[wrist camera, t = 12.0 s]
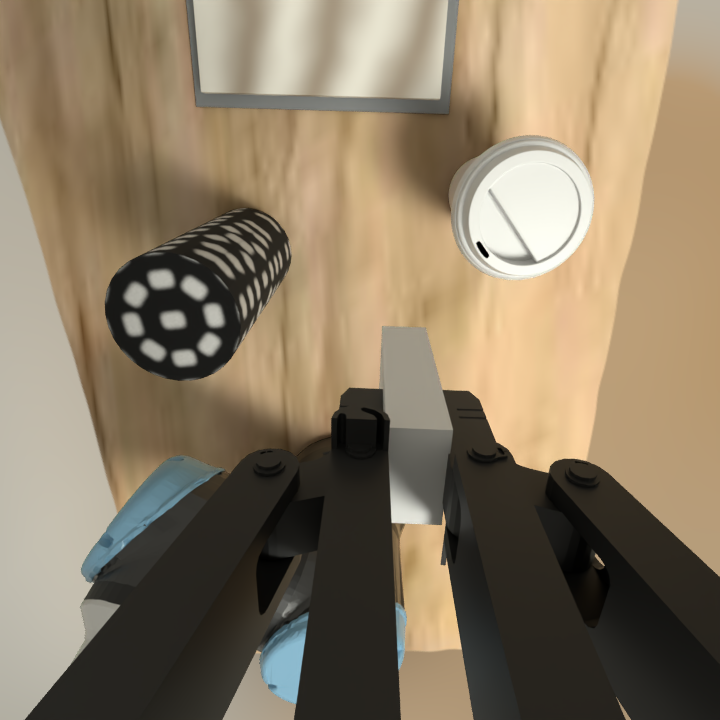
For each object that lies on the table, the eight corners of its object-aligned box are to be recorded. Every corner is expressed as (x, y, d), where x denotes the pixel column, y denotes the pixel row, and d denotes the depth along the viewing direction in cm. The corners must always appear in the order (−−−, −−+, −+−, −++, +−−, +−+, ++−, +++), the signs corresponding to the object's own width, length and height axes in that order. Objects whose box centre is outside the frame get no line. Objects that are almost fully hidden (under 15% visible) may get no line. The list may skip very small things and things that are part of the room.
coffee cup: (421, 154, 44) (442, 160, 31) (528, 122, 43) (600, 114, 29) (443, 256, 48) (470, 302, 34) (542, 229, 47) (611, 267, 33)
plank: (205, 93, 42) (200, 92, 41) (194, -36, 39) (189, -42, 38) (438, 100, 42) (440, 98, 41) (448, -30, 39) (451, -35, 37)
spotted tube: (282, 202, 46) (223, 244, 28) (298, 288, 50) (253, 374, 32) (197, 213, 47) (85, 260, 29) (218, 297, 50) (129, 386, 32)
